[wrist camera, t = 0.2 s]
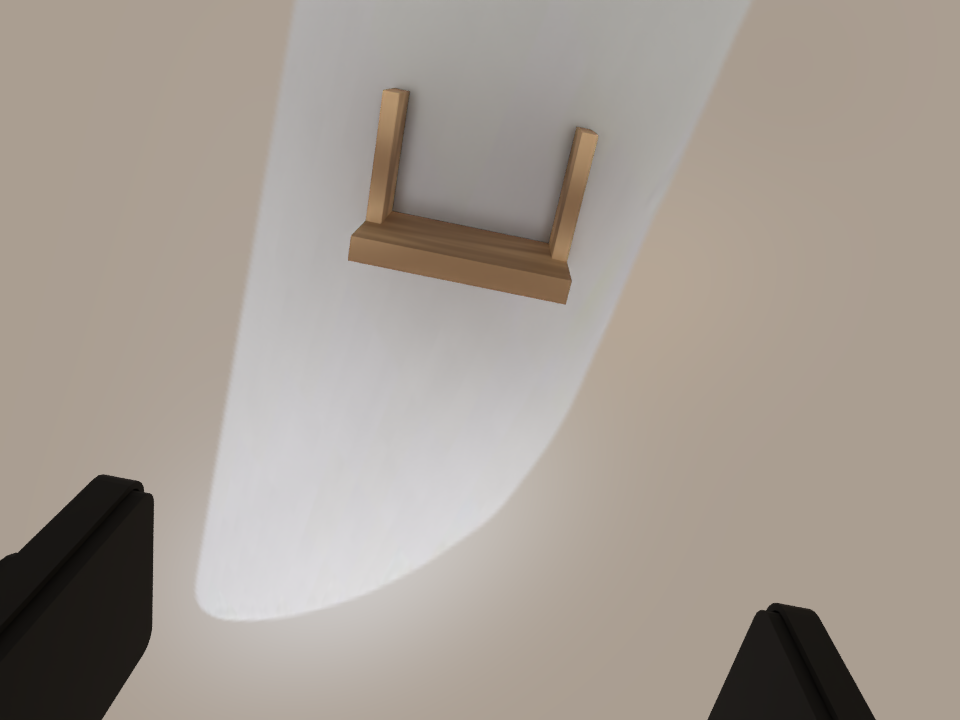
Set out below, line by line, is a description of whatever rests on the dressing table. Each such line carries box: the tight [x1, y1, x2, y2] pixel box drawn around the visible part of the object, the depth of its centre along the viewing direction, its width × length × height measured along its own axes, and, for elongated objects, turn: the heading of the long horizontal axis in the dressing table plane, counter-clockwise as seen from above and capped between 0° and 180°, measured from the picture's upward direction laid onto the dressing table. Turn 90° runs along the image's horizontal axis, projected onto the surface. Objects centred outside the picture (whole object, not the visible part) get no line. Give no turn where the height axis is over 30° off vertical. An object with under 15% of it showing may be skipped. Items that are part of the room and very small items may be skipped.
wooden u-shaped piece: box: [348, 88, 598, 304], centre depth 35 cm, size 8×11×7 cm
